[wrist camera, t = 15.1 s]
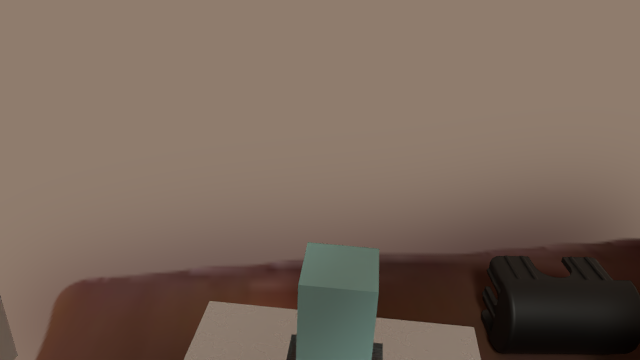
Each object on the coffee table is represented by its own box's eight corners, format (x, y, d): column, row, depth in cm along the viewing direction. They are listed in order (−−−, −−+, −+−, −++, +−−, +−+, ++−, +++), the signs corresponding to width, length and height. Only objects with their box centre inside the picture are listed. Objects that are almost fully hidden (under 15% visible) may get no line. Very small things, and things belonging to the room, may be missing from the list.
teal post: (364, 390, 41) (379, 248, 35) (362, 443, 36) (378, 292, 31) (302, 383, 41) (307, 242, 36) (293, 435, 37) (298, 284, 32)
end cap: (500, 377, 42) (517, 304, 39) (473, 315, 49) (487, 249, 46) (629, 377, 43) (656, 306, 40) (586, 316, 49) (606, 251, 46)
